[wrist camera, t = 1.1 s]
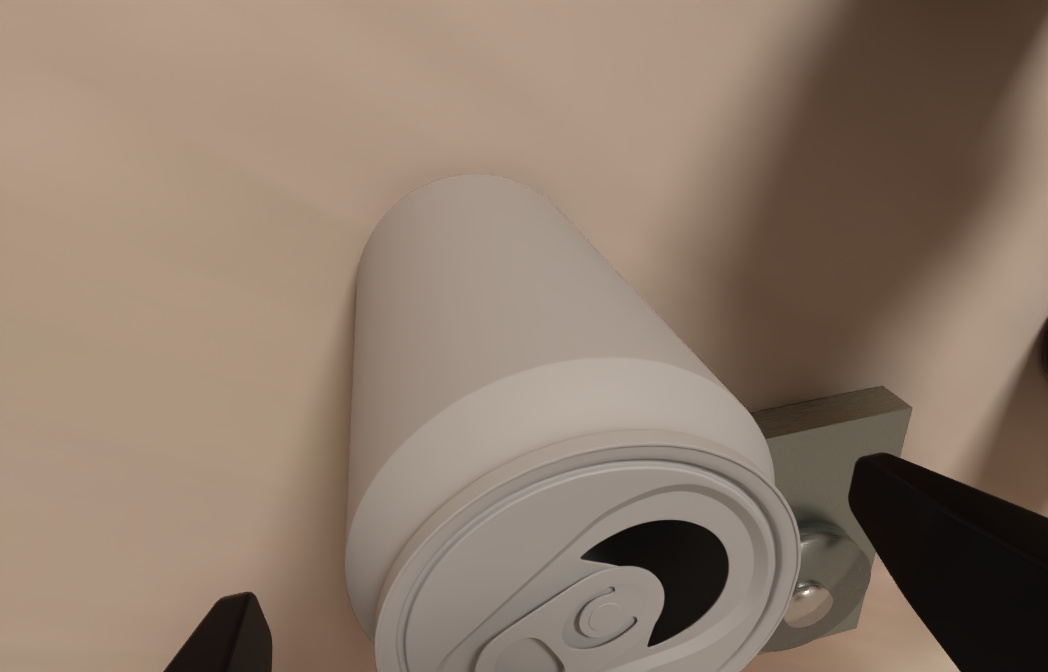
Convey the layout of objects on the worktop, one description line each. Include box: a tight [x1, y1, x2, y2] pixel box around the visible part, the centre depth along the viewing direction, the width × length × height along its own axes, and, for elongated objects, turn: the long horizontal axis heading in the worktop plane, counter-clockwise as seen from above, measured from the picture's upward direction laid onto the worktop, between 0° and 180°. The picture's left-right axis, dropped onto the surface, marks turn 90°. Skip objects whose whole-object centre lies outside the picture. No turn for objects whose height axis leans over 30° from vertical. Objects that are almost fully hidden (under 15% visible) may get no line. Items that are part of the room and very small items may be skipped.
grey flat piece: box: [750, 386, 912, 655], centre depth 24 cm, size 16×12×3 cm
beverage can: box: [345, 174, 801, 672], centre depth 13 cm, size 6×6×12 cm
